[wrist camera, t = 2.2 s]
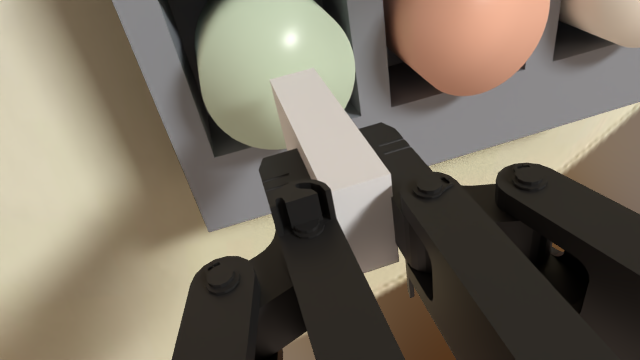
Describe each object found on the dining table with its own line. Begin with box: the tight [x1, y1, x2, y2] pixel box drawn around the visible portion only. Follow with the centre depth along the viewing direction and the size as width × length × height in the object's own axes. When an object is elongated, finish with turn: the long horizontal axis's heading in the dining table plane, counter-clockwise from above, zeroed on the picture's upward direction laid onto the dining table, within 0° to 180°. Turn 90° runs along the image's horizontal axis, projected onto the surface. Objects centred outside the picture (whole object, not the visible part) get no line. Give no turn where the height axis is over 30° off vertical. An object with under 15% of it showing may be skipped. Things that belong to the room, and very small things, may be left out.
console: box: [112, 0, 640, 232], centre depth 22 cm, size 15×27×5 cm, turn 100°
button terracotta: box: [383, 0, 550, 96], centre depth 21 cm, size 6×6×4 cm
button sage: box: [195, 0, 355, 150], centre depth 20 cm, size 6×6×4 cm
